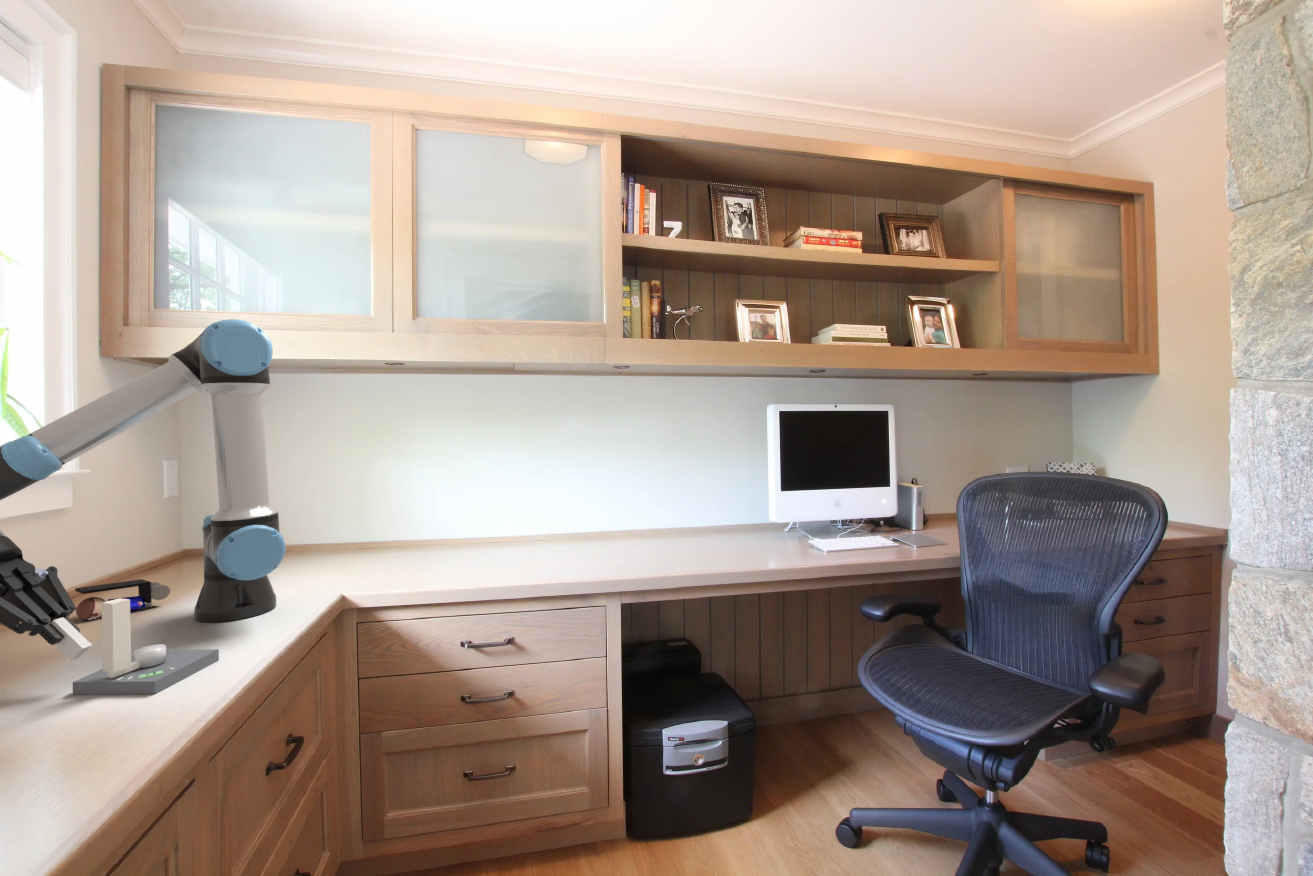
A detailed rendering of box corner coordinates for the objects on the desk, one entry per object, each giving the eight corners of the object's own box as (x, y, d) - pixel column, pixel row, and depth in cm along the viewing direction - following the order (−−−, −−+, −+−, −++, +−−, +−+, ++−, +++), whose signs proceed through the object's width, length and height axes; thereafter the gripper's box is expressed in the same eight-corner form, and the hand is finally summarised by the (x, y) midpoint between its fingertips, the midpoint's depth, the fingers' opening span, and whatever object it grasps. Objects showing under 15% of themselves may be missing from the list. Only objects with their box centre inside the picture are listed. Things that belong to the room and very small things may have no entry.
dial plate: (146, 660, 102) (146, 649, 102) (218, 660, 102) (218, 648, 102) (72, 694, 89) (72, 681, 89) (155, 694, 89) (155, 680, 89)
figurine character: (157, 608, 137) (69, 619, 124) (161, 576, 137) (74, 584, 124) (168, 612, 133) (79, 624, 120) (172, 580, 134) (84, 588, 121)
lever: (155, 657, 98) (153, 588, 97) (172, 659, 97) (171, 590, 96) (99, 676, 90) (97, 602, 90) (117, 679, 89) (116, 604, 89)
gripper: (6, 557, 96) (105, 652, 97) (-95, 577, 83) (19, 687, 84) (36, 526, 96) (135, 622, 97) (-60, 541, 83) (54, 652, 84)
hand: (81, 652), depth 90 cm, fingers closed
